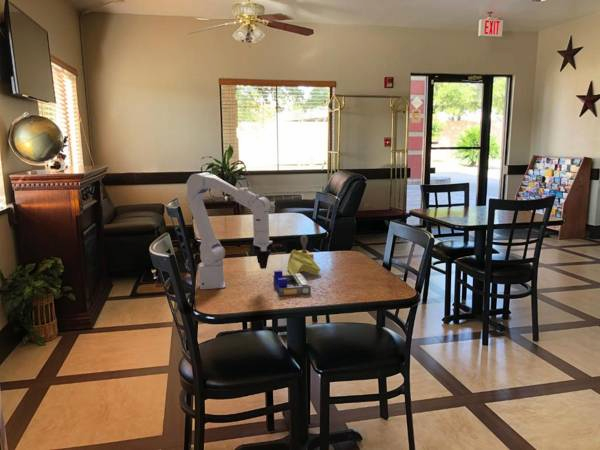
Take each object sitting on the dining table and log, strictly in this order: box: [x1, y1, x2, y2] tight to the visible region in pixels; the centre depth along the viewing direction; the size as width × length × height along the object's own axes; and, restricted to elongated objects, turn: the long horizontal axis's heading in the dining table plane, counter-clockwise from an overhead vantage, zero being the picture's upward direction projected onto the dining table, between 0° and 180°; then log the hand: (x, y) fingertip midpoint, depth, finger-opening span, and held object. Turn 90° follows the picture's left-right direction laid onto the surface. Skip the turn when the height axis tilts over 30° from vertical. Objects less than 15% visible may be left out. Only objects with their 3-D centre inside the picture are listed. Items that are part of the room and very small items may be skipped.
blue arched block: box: [273, 270, 292, 296], centre depth 183 cm, size 12×4×6 cm, turn 11°
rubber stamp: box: [298, 234, 315, 261], centre depth 225 cm, size 10×6×12 cm, turn 20°
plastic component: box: [287, 249, 321, 277], centre depth 208 cm, size 20×7×10 cm
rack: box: [272, 272, 312, 297], centre depth 184 cm, size 11×17×4 cm
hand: (262, 265), depth 181 cm, fingers open, 7 cm apart
